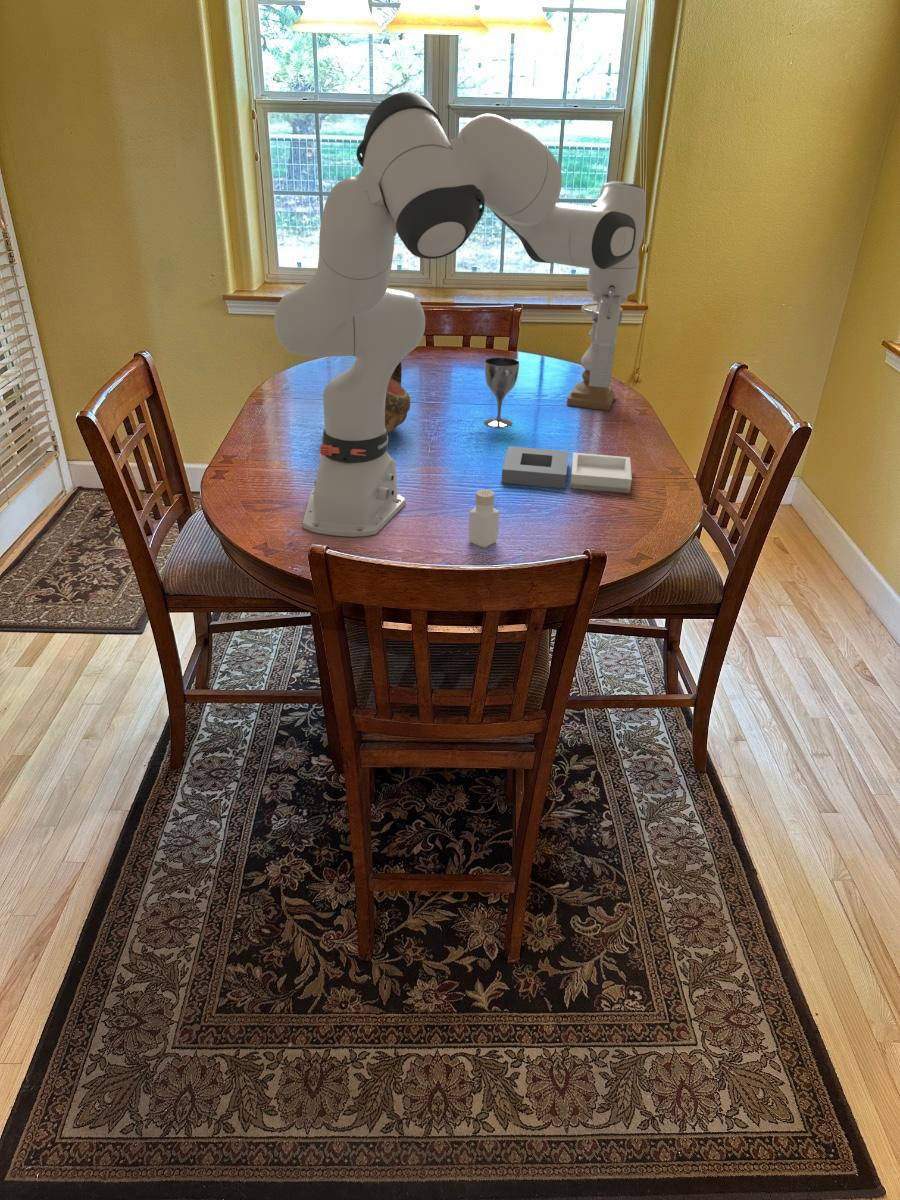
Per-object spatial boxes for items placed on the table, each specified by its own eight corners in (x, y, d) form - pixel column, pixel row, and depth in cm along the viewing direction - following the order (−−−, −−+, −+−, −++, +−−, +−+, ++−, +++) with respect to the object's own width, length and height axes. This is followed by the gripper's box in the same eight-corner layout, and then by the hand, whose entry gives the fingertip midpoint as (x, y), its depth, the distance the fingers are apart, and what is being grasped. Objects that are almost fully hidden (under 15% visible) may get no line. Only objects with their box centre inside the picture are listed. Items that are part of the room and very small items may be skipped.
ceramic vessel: (312, 449, 178) (304, 333, 164) (360, 413, 199) (357, 308, 185) (383, 460, 173) (381, 343, 160) (425, 422, 194) (426, 315, 181)
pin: (612, 388, 154) (622, 316, 147) (585, 386, 155) (593, 314, 148) (612, 380, 159) (622, 309, 151) (586, 378, 159) (594, 308, 152)
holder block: (564, 488, 163) (566, 474, 161) (501, 482, 165) (502, 469, 163) (567, 464, 174) (568, 451, 172) (507, 459, 176) (508, 446, 174)
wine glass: (504, 431, 190) (509, 368, 182) (476, 424, 194) (478, 362, 186) (520, 422, 196) (525, 360, 188) (492, 415, 200) (495, 354, 192)
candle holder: (608, 410, 205) (621, 314, 192) (565, 405, 208) (575, 309, 195) (614, 398, 214) (627, 305, 201) (574, 393, 217) (584, 300, 204)
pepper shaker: (484, 549, 140) (486, 500, 135) (466, 542, 142) (468, 493, 137) (498, 542, 143) (501, 493, 138) (481, 534, 145) (483, 486, 140)
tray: (629, 493, 162) (631, 479, 160) (569, 487, 163) (571, 474, 162) (628, 470, 172) (630, 457, 170) (571, 465, 173) (573, 452, 172)
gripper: (630, 293, 137) (619, 374, 145) (629, 272, 155) (619, 344, 162) (593, 291, 138) (584, 371, 146) (596, 270, 155) (587, 342, 163)
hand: (602, 357), depth 154 cm, fingers closed on pin, 4 cm apart
